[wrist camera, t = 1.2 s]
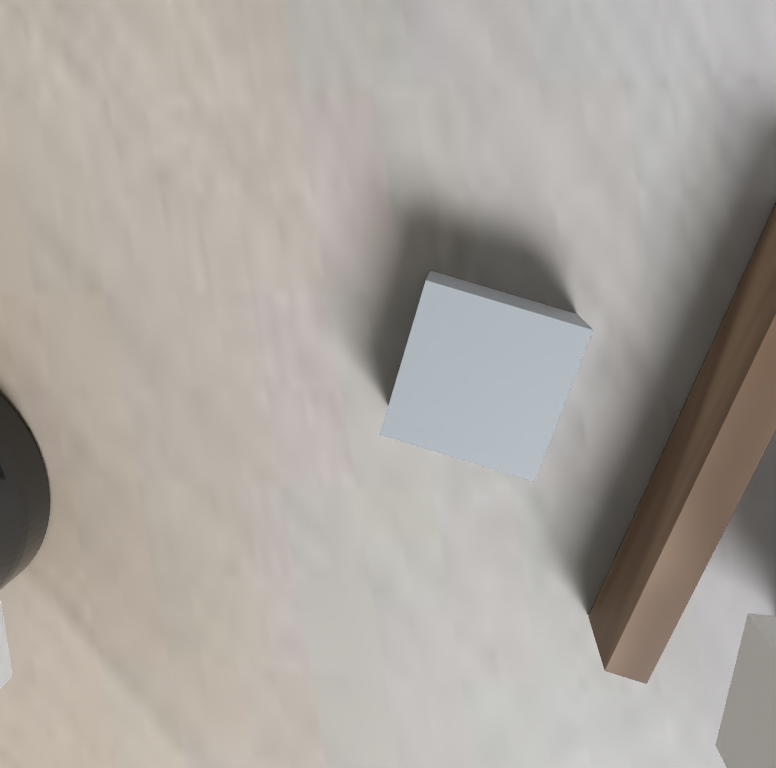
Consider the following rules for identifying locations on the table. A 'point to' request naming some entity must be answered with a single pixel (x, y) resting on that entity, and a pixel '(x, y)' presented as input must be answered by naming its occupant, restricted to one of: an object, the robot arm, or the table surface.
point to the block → (485, 375)
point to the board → (695, 478)
